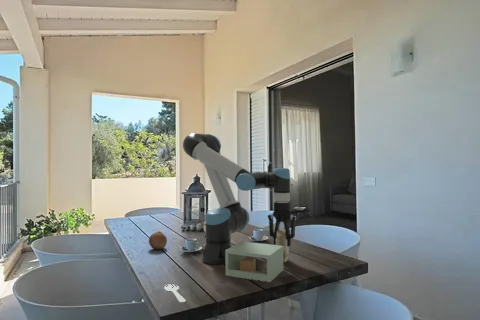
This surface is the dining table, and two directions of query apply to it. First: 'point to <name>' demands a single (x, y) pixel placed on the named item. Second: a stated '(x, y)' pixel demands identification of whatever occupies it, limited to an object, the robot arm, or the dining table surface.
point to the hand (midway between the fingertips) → (282, 252)
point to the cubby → (255, 250)
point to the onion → (157, 240)
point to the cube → (247, 264)
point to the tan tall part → (280, 241)
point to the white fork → (175, 292)
